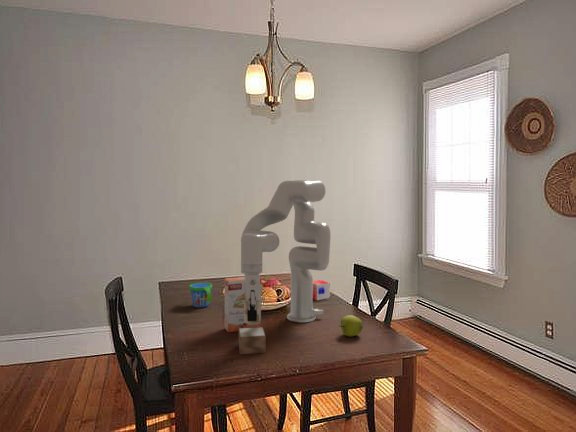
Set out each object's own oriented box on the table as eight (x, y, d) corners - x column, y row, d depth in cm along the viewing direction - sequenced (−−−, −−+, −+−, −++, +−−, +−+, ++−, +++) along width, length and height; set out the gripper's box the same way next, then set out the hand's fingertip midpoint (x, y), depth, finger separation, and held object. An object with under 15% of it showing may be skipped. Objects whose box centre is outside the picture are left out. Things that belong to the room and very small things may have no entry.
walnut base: (263, 343, 170) (263, 327, 169) (265, 352, 161) (265, 335, 160) (238, 344, 168) (238, 328, 168) (239, 354, 160) (239, 336, 159)
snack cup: (184, 303, 221) (183, 283, 220) (204, 300, 227) (204, 280, 226) (197, 311, 208) (197, 290, 208) (218, 308, 214) (218, 286, 214)
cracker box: (228, 333, 181) (227, 281, 179) (224, 328, 186) (223, 277, 184) (261, 328, 186) (261, 278, 184) (256, 324, 192) (256, 275, 190)
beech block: (257, 318, 166) (257, 299, 166) (258, 322, 162) (259, 303, 161) (243, 318, 166) (244, 299, 165) (244, 323, 161) (244, 303, 160)
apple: (335, 334, 180) (335, 314, 180) (355, 331, 184) (355, 311, 183) (345, 340, 173) (345, 320, 173) (365, 337, 177) (366, 317, 176)
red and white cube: (320, 294, 240) (320, 279, 239) (329, 298, 233) (329, 283, 233) (307, 296, 236) (308, 281, 235) (316, 300, 229) (316, 284, 228)
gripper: (264, 272, 154) (264, 325, 156) (260, 263, 171) (259, 311, 173) (242, 273, 153) (242, 326, 155) (239, 264, 170) (239, 312, 171)
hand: (251, 318), depth 164 cm, fingers closed on beech block, 5 cm apart
